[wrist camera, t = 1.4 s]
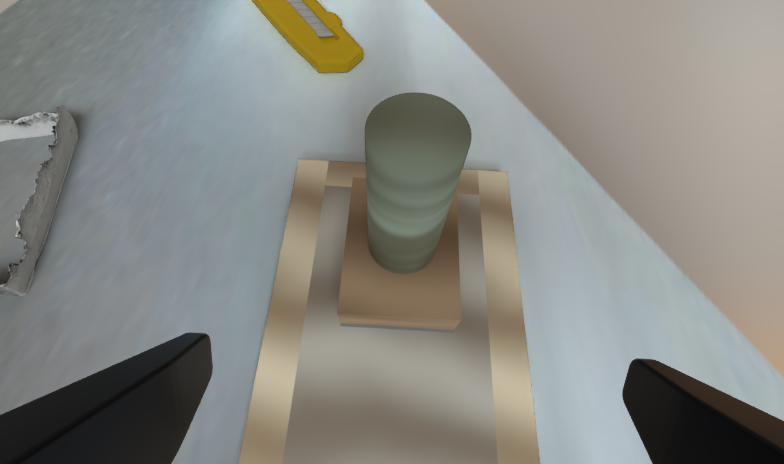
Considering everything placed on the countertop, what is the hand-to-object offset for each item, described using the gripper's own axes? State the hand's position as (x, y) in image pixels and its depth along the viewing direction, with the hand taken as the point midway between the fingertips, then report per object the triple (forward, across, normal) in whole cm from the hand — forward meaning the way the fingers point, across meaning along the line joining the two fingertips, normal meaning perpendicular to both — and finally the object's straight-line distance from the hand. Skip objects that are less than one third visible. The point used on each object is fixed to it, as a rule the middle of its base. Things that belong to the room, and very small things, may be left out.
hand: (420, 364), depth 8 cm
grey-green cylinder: (+14, 0, +3) cm, 15 cm away
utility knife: (+34, +11, -14) cm, 38 cm away
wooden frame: (+12, 0, +7) cm, 14 cm away
